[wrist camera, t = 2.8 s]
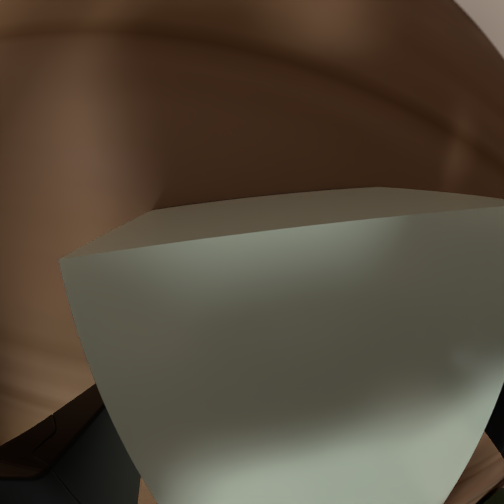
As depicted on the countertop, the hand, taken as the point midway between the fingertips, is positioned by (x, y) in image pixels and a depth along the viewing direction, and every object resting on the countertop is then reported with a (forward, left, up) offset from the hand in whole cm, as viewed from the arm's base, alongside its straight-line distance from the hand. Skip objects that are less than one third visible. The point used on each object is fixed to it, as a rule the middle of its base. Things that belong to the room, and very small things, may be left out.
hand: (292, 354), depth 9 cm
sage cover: (0, 0, -1) cm, 1 cm away
